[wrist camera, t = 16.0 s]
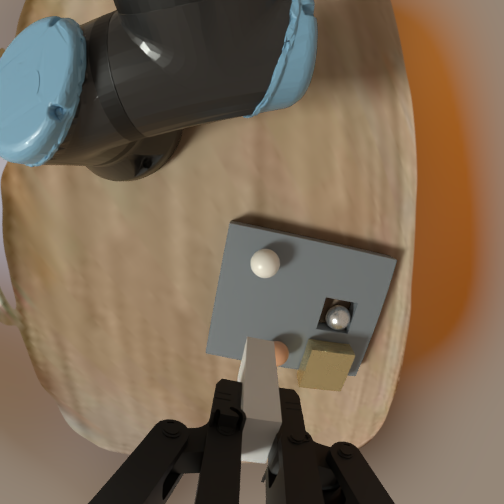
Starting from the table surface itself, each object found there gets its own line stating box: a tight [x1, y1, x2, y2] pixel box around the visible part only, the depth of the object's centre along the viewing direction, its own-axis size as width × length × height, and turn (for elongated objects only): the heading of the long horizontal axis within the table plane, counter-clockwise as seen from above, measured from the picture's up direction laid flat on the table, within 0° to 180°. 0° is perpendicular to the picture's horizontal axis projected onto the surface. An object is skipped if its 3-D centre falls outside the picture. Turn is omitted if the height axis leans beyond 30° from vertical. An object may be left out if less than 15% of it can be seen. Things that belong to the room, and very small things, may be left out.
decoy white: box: [251, 249, 280, 278], centre depth 37 cm, size 3×3×3 cm
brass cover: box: [297, 339, 355, 391], centre depth 39 cm, size 6×6×3 cm
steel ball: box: [326, 305, 351, 330], centre depth 41 cm, size 3×3×3 cm
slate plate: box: [206, 221, 397, 376], centre depth 41 cm, size 22×18×2 cm
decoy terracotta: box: [274, 341, 289, 366], centre depth 39 cm, size 3×3×3 cm
